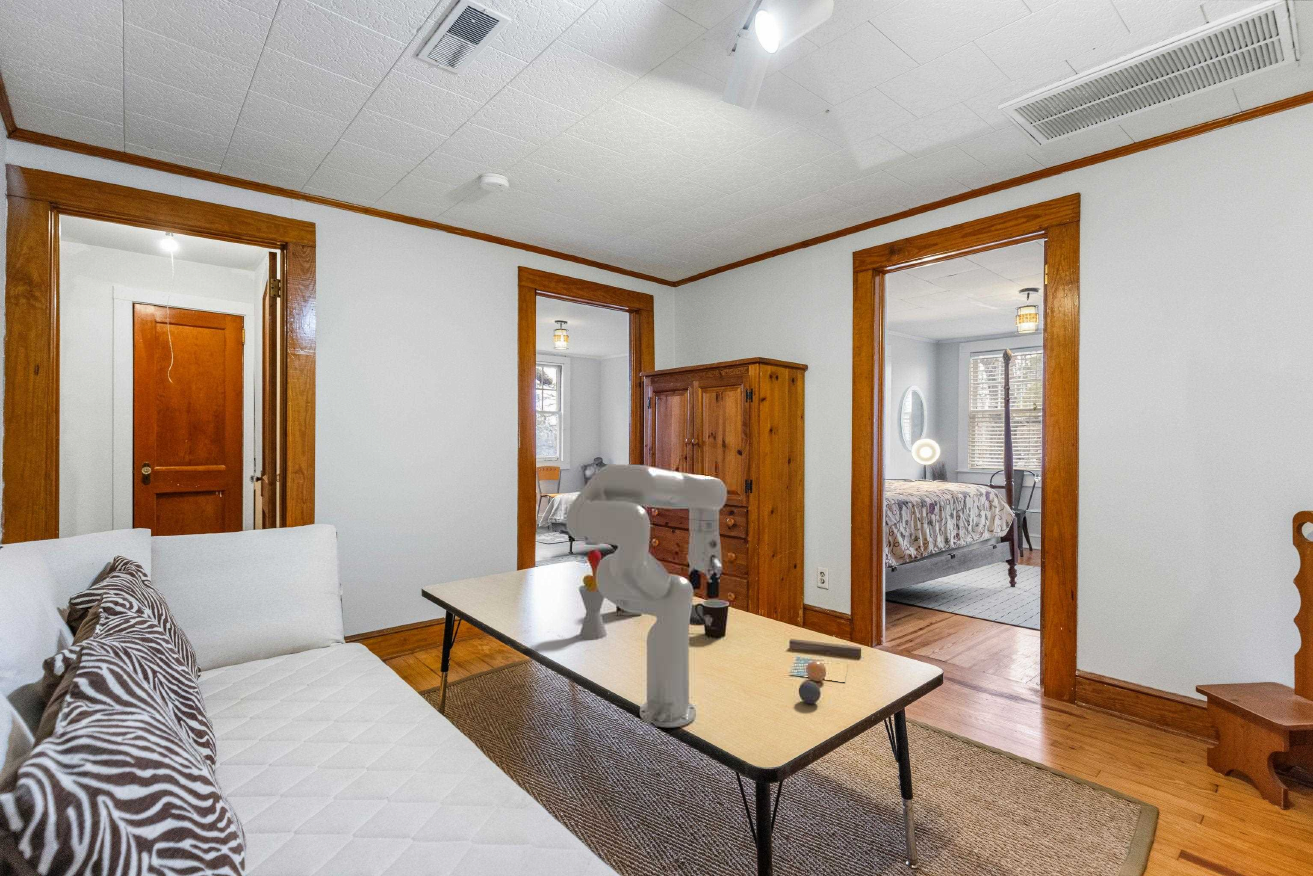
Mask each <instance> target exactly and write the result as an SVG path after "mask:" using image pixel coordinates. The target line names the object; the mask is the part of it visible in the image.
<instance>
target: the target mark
mask: <svg viewBox="0 0 1313 876" xmlns="http://www.w3.org/2000/svg"><path fill="white" fill-rule="evenodd" d="M800 658H801V659H800ZM802 658H803V659H802ZM805 658H806V659H805ZM808 658H809V659H808ZM824 660H825V659H816V658H810V657H801V656H796V658H795V661H797V663H796V662H795V661H794V662H793V665H794V664H803V666H802V665H801V666H799V665H798V666H797V665H796V666H793V665H792V667H803V669H802V668H801V669H800V668H799V669H798V668H794V669H792V668H791V670H795V671H796V670H797V672H794V671H793V672H792V671H791V670H790V672H789V674H790V673H797V674H794V676H793V677H797V676H803V677H802V678H804V676H808V675H807V674H805V673H807V672H806V671H805V670H806V668H807V665H805V666H804V664H809V663H810V662H809V661H824ZM798 661H800V662H798ZM801 661H804V662H802V663H801ZM824 664H825V663H824ZM827 664H828V663H827ZM838 664H839V663H838ZM804 667H806V668H804ZM798 670H804V671H798ZM799 673H800V674H799ZM801 673H802V674H801ZM803 673H804V674H803ZM792 675H793V674H792Z"/></svg>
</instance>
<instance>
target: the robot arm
mask: <svg viewBox="0 0 1313 876" xmlns="http://www.w3.org/2000/svg"><path fill="white" fill-rule="evenodd" d="M727 497H728V490H727V487H726V485H725V483H724V482H723V481H722V480H721V479H720V478H717V477H713V476H705V475H701V474H693V473H688V472H681V471H675V470H668V469H664V468H658V467H655V466H649V465H646V464H644V465H643V464H611V463H610V464H607V465H604V466H603V467H601V468H600V469H599V470H598V471H596V473H594V474H593V475H592V476H591V478H590V479H589V480H588V482H587V483H586V484H585V485H584V487H583V488H582V490H581V491H580V492H579V493H578V495H577V496H576V497H575V498H574V500H572V501H573V502H572V503H571V504H570V506H569V509H568V511H567V513H566V517H565V518H566V519H565V524H566V529H567V532H568V535H570V536H571V537H572V538H573V539H575V540H576V541H580V542H584V543H586V542H593V543H601V544H604V545H605V544H607V545H614V546H617V548H616V550H615V551H614V552H613V553H610V554H607V555H606V556H604V557H603V558H601V560H600V563H599V565H598V567H597V571H596V583H597V587H598V590H599V591H600V593H601V594H602V595H603V596H604V599H606V600H608V601H609V602H611V603H612V604H614V605H615V606H616V605H617V606H618V607H620V608H621V609H623V610H625V611H628V612H633V613H639V614H642V615H647V616H652V617H655V618H656V621H655V622H654V624H653V625H651V627H650V629H649V630H648V633H647V635H646V702H644V704H642V705H641V706H640V708H639V717H640V718H641V720H642V721H643V722H644V723H645V724H649V725H651V726H655V727H660V728H678V727H682V726H686V725H688V724H690V723H691V722H693V721H694V720H695V719H696V716H697V715H696V714H697V709H696V708H695V706H694V705H693V704H692V703H690V624H691V623H690V615H691V609H692V605H693V601H694V590H701V588H702V587H701V586H702V584H701V583H702V576H701V575H702V573H703V574H705V576H706V579H707V581H706V585H705V586H706V591H705V592H706V594H705V595H706V596H705V597H706V599H717V598H719V597H720V596H719V595H720V586H719V585H720V581H721V576H722V571H723V566H722V563H723V561H722V544H721V538H720V532H719V531H720V530H719V529H720V527H719V526H720V524H719V523H720V520H719V519H720V510H721V509H722V508H723V507H724V506H725V504H726V502H727V500H728V499H727ZM643 507H645V508H646V507H647V508H657V509H659V508H660V509H672V510H673V509H674V510H684V509H685V510H686V509H687V510H688V511H689V513H688V514H689V517H688V518H689V519H688V520H689V521H688V522H689V523H688V524H689V529H688V531H689V533H690V534H689V541H688V554H686V559H687V567H688V572H687V573H688V579H687V578H685V577H684V576H681V575H678V574H671V573H669V572H668V571H667V569H666V567H665V566H664V565H663V564H662V563H661V562H660V561H659V560H658V559H657V558H655V556H653V554H651V553H650V552H649V547H650V537H651V522H650V517H649V515H648V513H647V511H646V510H645V508H643ZM700 572H701V573H700ZM651 723H653V724H654V725H653V724H651Z"/></svg>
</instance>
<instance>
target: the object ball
mask: <svg viewBox="0 0 1313 876" xmlns="http://www.w3.org/2000/svg"><path fill="white" fill-rule="evenodd" d="M806 672H807V675H808V677H809V678H808V679H810V681H812V682H821V681H824V680H823V679H824V678H825V676H826V668H825V666H824V664H823V663H821V662H819V661H812V662H810V663H809V664H808V665H807V668H806Z"/></svg>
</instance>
